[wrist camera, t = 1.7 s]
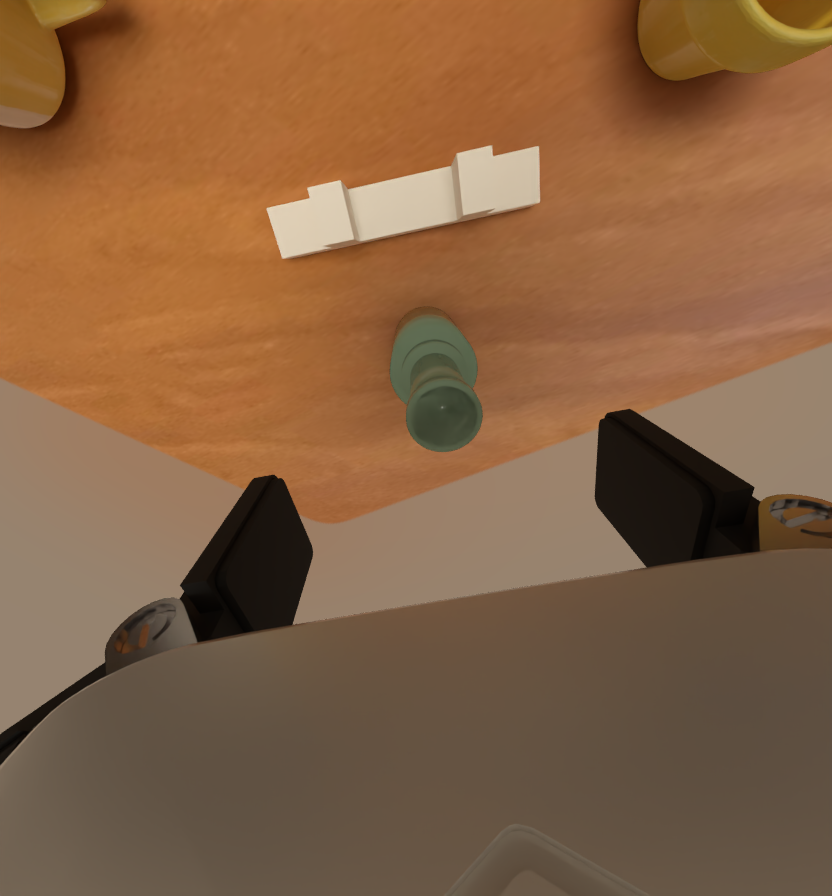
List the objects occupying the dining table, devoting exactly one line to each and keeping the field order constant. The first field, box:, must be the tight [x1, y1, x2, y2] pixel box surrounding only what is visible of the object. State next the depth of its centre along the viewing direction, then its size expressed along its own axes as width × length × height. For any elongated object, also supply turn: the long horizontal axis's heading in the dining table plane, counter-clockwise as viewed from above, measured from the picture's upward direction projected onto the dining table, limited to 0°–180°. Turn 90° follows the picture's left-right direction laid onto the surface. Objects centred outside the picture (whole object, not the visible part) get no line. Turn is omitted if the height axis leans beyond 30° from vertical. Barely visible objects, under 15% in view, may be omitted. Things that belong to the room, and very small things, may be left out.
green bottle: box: [390, 307, 483, 452], centre depth 22 cm, size 5×5×17 cm
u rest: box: [266, 145, 540, 259], centre depth 23 cm, size 18×3×5 cm, turn 101°
